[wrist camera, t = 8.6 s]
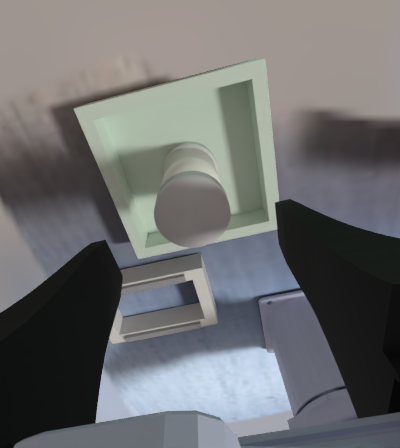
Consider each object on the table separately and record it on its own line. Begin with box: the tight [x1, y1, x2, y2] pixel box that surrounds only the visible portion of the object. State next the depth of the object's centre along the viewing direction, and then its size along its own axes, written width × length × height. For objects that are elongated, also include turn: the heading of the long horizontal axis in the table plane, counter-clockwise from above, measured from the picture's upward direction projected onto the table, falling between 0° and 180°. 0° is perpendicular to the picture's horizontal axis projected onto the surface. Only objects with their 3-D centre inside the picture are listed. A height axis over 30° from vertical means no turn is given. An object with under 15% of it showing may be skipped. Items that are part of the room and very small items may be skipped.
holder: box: [109, 253, 218, 344], centre depth 25 cm, size 10×7×2 cm, turn 103°
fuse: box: [154, 141, 231, 248], centre depth 16 cm, size 4×4×7 cm
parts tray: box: [74, 58, 279, 259], centre depth 19 cm, size 11×11×2 cm
